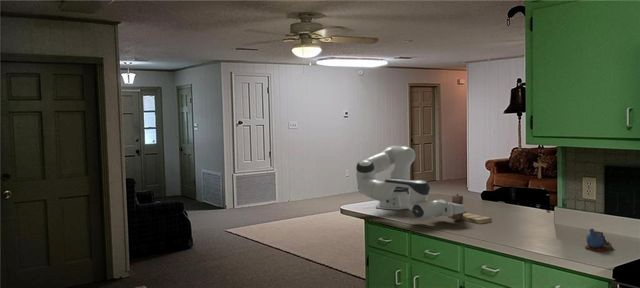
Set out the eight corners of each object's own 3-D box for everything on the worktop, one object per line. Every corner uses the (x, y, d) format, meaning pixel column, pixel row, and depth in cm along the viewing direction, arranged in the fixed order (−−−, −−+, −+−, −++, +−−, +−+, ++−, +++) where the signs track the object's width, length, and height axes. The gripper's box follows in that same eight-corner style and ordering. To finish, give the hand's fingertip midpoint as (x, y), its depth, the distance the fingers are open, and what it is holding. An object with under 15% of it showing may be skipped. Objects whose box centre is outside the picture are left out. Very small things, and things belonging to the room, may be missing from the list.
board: (491, 221, 285) (491, 217, 285) (479, 223, 280) (479, 220, 280) (459, 214, 306) (459, 211, 306) (447, 216, 301) (447, 213, 301)
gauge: (457, 220, 288) (457, 194, 287) (452, 219, 291) (452, 193, 290) (468, 218, 292) (468, 193, 291) (463, 217, 295) (462, 192, 294)
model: (601, 253, 218) (601, 231, 218) (580, 248, 226) (580, 227, 226) (617, 248, 225) (617, 226, 224) (596, 244, 233) (596, 223, 232)
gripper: (426, 210, 293) (445, 207, 300) (453, 216, 275) (472, 213, 282) (426, 199, 292) (445, 196, 299) (453, 204, 275) (472, 201, 282)
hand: (458, 205), depth 290 cm, fingers closed on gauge, 4 cm apart
